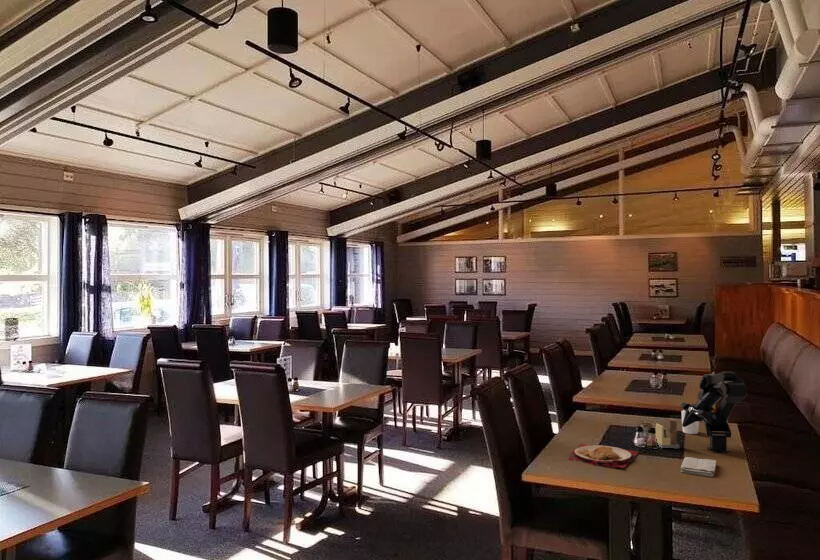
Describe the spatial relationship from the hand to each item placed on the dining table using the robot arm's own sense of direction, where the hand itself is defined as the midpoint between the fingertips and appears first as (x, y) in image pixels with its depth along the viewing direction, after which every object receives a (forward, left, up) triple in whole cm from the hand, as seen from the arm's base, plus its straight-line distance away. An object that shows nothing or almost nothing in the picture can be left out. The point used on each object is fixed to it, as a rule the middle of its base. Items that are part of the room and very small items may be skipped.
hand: (683, 426), depth 273 cm
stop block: (0, +6, -7) cm, 9 cm away
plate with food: (-8, +44, -10) cm, 46 cm away
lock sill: (+1, +7, -9) cm, 11 cm away
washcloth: (-30, +14, -9) cm, 35 cm away
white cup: (+21, -19, -9) cm, 30 cm away
